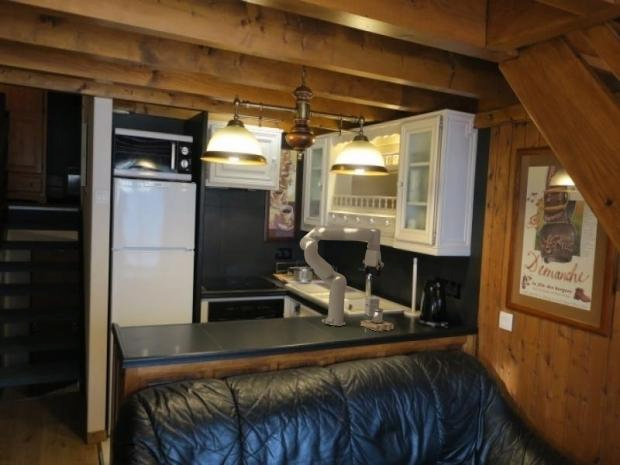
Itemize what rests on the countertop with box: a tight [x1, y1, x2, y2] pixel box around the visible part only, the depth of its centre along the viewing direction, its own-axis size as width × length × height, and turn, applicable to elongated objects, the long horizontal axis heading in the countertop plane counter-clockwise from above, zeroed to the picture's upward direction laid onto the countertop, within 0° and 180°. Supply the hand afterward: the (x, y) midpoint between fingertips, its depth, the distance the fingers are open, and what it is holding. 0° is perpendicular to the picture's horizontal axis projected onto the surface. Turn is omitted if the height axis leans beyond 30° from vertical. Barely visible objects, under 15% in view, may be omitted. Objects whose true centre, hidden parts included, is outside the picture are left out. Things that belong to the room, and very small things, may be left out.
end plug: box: [371, 307, 384, 324], centre depth 300 cm, size 7×7×12 cm
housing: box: [360, 319, 394, 332], centre depth 300 cm, size 14×14×4 cm
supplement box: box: [364, 296, 380, 317], centre depth 333 cm, size 7×7×13 cm
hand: (372, 275), depth 310 cm, fingers open, 9 cm apart
